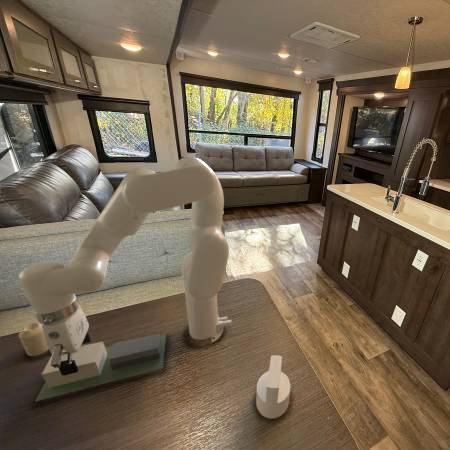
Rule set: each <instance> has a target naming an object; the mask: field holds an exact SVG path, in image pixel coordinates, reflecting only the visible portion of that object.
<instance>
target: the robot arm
mask: <svg viewBox="0 0 450 450" xmlns="http://www.w3.org/2000/svg"><path fill="white" fill-rule="evenodd" d="M224 197H225V196H224V190H223V187H222V184H221V182H220V180H219V178H218V176H217V174H216V173H215V171H213V169H212V168H211V167H210V166H209V165H208V164H207V163H205V162H204V161H203V160H201V159H200V158H198V157H195V156H183V157H182V158H180V159H179V160H178V161H177V163H176V164H175V167H174V169H171V170H170V169H169V170H166V171H160V172H156V171H154V170H152V169H150V168H147V167H136V168H133V169H131V170H130V171H129V172H127V174H125V176H124V177H123V179H122V181H121V182H120V184H119V185H118V186H117V188H116V190H115V191H114V193H113V195H112V196H111V197H110V199H109V200H108V202H107V203H106V205H105V206H104V207H103V210H102V211H101V212H100V214H99V215H98V217H97V218H96V220H95V222H94V224H93V225H92V226H91V227H90V229H89V231H88V232H87V234H86V235H85V237H84V238H83V240H82V241H81V242H80V244H79V246H78V247H77V249H76V250H75V252H74V253H73V256H72V258H71V260H70V262H69V264H68V265H67V266H65V265H64V264H63V263H61V262H60V261H57V260H46V261H39V262H35V263H34V264H31V265H29V266H27V267H25V268H23V269H22V270H21V271H20V273H19V275H18V281H19V283H20V285H21V288H22V289H23V292H24V294H25V296H26V298H27V300H28V302H29V305H30V307H31V309H32V311H33V313H34V316H35V317H36V319H37V321H38V322H37V323H40V324H42V329H43V333H44V337H45V340H46V343H47V345H48V348H49V350H48V351H49V352H50V354H51V356H52V359H51V366H53V367H54V368H59V370H60V372H61V374H62V376H65V375H69V374H73V373H77V372H78V370H79V369H78V367H77V365H76V362H75V360H72V353H75V352H77V351H78V350H79V348H80V346H82V345H87V344H90V343H91V342H92V338H91V336H90V334H89V331H88V330H89V327H90V324H89V320H88V319H87V316H86V314H85V312H84V310H83V308H82V307H81V305H80V303H79V302H78V299H77V297H76V295H77V294H78V295H79V294H86V293H87V294H88V293H92V292H95V291H97V290H99V289H100V288H101V287H102V286H103V285H104V284H105V281H106V278H107V272H108V266H109V261H110V260H111V257H112V256H113V254H114V253H115V251H116V250H117V249H118V247H119V245H120V244H121V243H122V241H123V240H124V239H125V238H127V237H130V236H131V237H132V236H134V235H135V234H137V233H138V231H139V230H140V228H141V227H142V225H143V223H144V222H145V220H146V219H147V218H148V216H149V214H151V213H156V212H161V211H166V210H170V209H174V208H177V207H181V206H185V205H188V204H191V213H190V221H189V227H188V232H187V243H188V246H189V249H190V252H188V253H187V254H186V255H185V256H184V257H183V259H182V261H181V264H180V265H181V266H180V268H181V269H180V270H181V277H182V282H183V289H184V296H185V305H186V314H187V323H188V331H189V335H190V337H191V338H192V339H193V340H196V341H205V340H208V339H211V344H214V343H215V342H217V341H218V340H219V339H220V338H221V336H222V335H223V332H224V327H231V326H233V320H232V319H228V316H227V315H226V316H223V317H221V316H219V310H218V293H219V292H220V290H221V289H222V287H223V284H224V280H225V277H226V271H227V266H228V260H229V255H230V247H229V242H228V239H227V238H226V236H225V234H224V233H223V231H222V222H223V215H224V207H225V206H224V205H225V198H224ZM62 350H65V351H66V352H62ZM65 354H68V357H67V360H65V361H62V360H61V355H65Z"/></svg>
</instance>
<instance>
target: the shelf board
mask: <svg viewBox="0 0 450 450" xmlns="http://www.w3.org/2000/svg"><path fill="white" fill-rule="evenodd" d="M166 337H167V334H160V338H161V343H162V344H161V353H160V358H159V359H155V360H151V361H147V362H143V363H139V364H135V365H131V366H127V367H123V368H119V369H115V370H112V368H111V365H110V362H109V357H110V354H111V351H112V347H113V345H110V346H105V349H106V352H107V356H106V359H105V363H104V366H103V369H102V372H101V375H99V376H95V377H91V378H87V379H83V380H79V381H75V382H71V383H67V384H63V385H59V386H55V387H51V388H48V386H47V383H46V381H45V382H44V383H43V385H42V387H41V390H40V391H39V393H38V394H37V397H36V399H35V403H36V402H40V401H43V400H47V399H51V398H54V397H59V396H63V395H66V394H69V393H74V392H78V391H81V390H85V389H90V388H92V387H97V386H100V385H101V386H102V385H103V384H107V383H112V382H115V381H119V380H123V379H127V378H131V377H135V376H138V375H142V374H145V373H150V372H153V371H156V370H161V369H164V359H165V348H166Z"/></svg>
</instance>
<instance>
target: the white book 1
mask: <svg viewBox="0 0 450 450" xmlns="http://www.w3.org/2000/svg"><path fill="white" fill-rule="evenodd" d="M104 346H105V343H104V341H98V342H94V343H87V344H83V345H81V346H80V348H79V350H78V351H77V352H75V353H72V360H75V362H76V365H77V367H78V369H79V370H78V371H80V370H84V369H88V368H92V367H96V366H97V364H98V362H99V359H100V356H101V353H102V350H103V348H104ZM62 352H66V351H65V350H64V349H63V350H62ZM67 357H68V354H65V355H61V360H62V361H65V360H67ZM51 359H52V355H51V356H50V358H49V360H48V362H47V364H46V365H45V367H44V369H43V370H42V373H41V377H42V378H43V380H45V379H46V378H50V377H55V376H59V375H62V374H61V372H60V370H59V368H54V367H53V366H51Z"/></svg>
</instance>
